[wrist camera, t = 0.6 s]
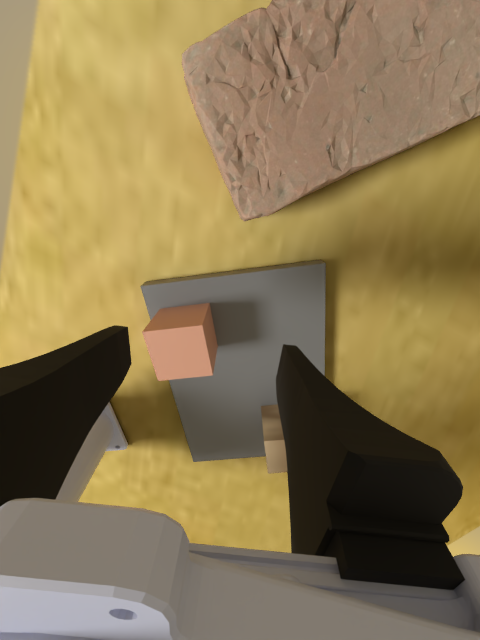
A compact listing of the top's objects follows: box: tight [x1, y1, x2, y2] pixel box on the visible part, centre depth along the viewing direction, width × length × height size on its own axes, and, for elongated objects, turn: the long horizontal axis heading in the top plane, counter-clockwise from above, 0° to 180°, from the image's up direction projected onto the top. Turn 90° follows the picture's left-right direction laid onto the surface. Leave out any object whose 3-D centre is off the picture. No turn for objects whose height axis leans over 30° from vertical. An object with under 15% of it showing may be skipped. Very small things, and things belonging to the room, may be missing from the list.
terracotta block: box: [142, 303, 218, 381], centre depth 19 cm, size 4×4×4 cm
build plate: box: [141, 260, 326, 462], centre depth 24 cm, size 14×20×1 cm
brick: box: [182, 0, 480, 221], centre depth 14 cm, size 17×8×5 cm, turn 114°
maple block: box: [261, 404, 287, 473], centre depth 24 cm, size 4×4×4 cm
